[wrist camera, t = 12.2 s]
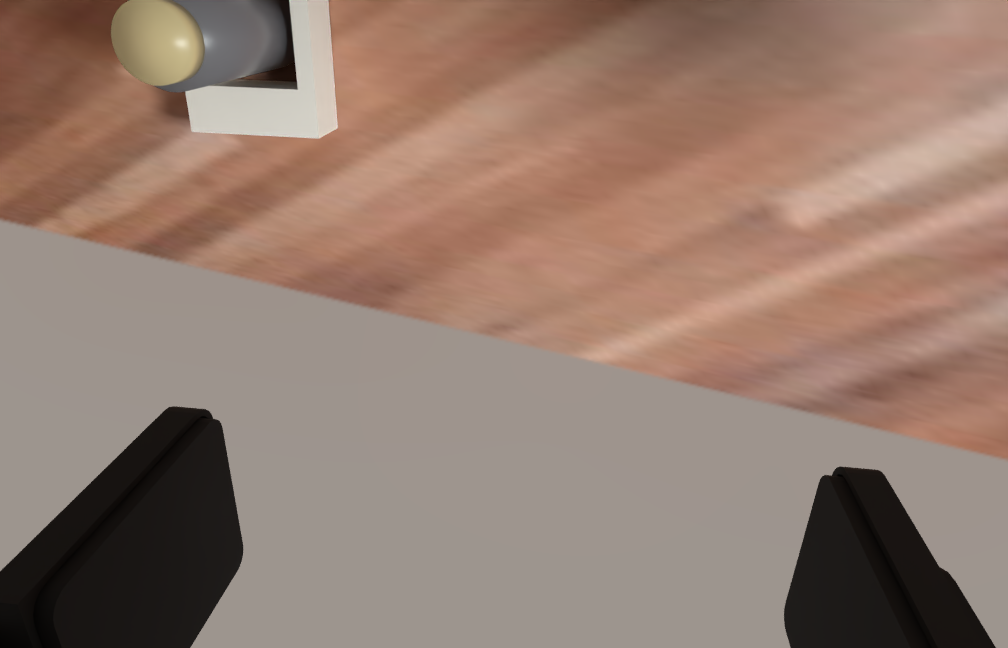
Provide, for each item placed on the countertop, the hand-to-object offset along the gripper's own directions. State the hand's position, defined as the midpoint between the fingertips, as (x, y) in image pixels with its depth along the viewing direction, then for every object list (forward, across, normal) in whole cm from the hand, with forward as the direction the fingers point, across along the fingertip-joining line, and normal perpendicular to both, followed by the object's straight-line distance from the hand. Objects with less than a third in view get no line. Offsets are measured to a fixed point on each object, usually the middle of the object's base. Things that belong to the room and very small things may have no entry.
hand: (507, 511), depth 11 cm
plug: (+30, +16, -5) cm, 35 cm away
